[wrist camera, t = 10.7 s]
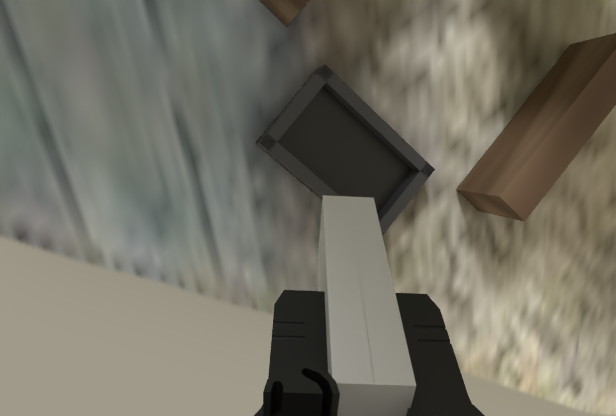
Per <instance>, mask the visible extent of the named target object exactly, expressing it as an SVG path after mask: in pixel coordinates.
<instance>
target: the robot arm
mask: <svg viewBox="0 0 616 416" xmlns="http://www.w3.org/2000/svg"><path fill="white" fill-rule="evenodd" d="M317 284H318V291H297V290H284V291H283V293H282V294H281V296H280V297H279V299H278V300H277V302H276V303H275V306H274V318H273V330H272V342H271V355H270V366H269V378H268V380H267V383H266V386H265V389H264V392H263V393H264V394H263V405H262V407H261V409H260V410H259V411H258V412H257V413H256V414H255V415H254V416H484V415H483V414H482V413H481V412H480V411H479V410H478V409H477V408H476V407H475V406H474V405H472V403H471V401H470V399H469V397H468V394H467V391H466V387H465V384H464V381H463V378H462V375H461V372H460V369H459V366H458V363H457V360H456V357H455V354H454V351H453V348H452V345H451V344H450V339H449V336H448V333H447V330H445V324H444V321H443V317H442V314H441V311H440V309H439V308H438V307H437V305H436V304H435V303H434V302H433V301H432V300H431V299H430V297H429V296H428V295H427V294H409V293H395V290H394V285H393V281H392V276H391V272H390V268H389V263H388V259H387V254H386V250H385V246H384V241H383V237H382V232H381V228H380V224H379V219H378V215H377V210H376V206H375V201H374V198H371V197H348V196H325V195H323V198H322V211H321V224H320V237H319V250H318V263H317Z"/></svg>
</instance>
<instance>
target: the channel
mask: <svg viewBox="0 0 616 416" xmlns="http://www.w3.org/2000/svg"><path fill="white" fill-rule="evenodd" d="M259 1H260V2H262V3H263V4H264V5H265V6H266V7H267V8H268V9H269V10H270V11H271V12H272V13H273V14H274V15H275V16H276V17H277V18H278V19H279V20H280V21H281V22H282V23H283V24H284V25H286V26H288V25H289V24H290V23H291V21H292V20H293V19H294V18H295V17H296V16H297V14H298V13H299V12H300V11H301V10H302V9H303V7H304V6H305V5H306V4H307V3H308V1H309V0H259ZM615 105H616V33H614V34H610V35H606V36H602V37H599V38H595V39H591V40H587V41H583V42H579V43H575V44H571V45H570V47H569V48H568V49H567V50H566V52H565V53H564V54H563V55H562V57H561V58H560V59H559V60H558V62H557V63H556V64H555V65H554V67H553V68H552V69H551V71H550V72H549V73H548V74H547V76H546V77H545V78H544V79H543V81H542V82H541V83H540V84H539V86H538V87H537V88H536V89H535V91H534V92H533V93H532V94H531V96H530V97H529V98H528V100H527V101H526V102H525V103H524V105H523V106H522V107H521V108H520V110H519V111H518V112H517V113H516V115H515V116H514V117H513V118H512V120H511V121H510V122H509V123H508V125H507V126H506V127H505V129H504V130H503V131H502V132H501V134H500V135H499V136H498V137H497V139H496V140H495V141H494V142H493V144H492V145H491V146H490V147H489V149H488V150H487V151H486V152H485V154H484V155H483V156H482V158H481V159H480V160H479V161H478V163H477V164H476V165H475V166H474V168H473V169H472V170H471V171H470V173H469V174H468V175H467V176H466V178H465V179H464V180H463V181H462V183H461V184H460V185H459V187H458V188H457V190H458V191H459V192H460V193H461V194H462V195H463V196H464V197H465V198H466V199H467V200H468V201H469V202H470V203H471V204H472V205H473V206H474V207H475V208H476V209H478V210H479V211H482V212H487V213H491V214H495V215H500V216H504V217H508V218H513V219H517V220H521V221H525V220H526V219H527V218H528V216H529V215H530V214H531V212H532V211H533V210H534V209H535V207H536V206H537V205H538V203H539V202H540V201H541V200H542V198H543V197H544V196H545V195H546V193H547V192H548V191H549V189H550V188H551V187H552V186H553V184H554V183H555V182H556V180H557V179H558V178H559V177H560V175H561V174H562V173H563V171H564V170H565V169H566V168H567V166H568V165H569V164H570V162H571V161H572V160H573V159H574V157H575V156H576V155H577V153H578V152H579V151H580V150H581V148H582V147H583V146H584V145H585V143H586V142H587V141H588V139H589V138H590V137H591V136H592V134H593V133H594V132H595V130H596V129H597V128H598V127H599V125H600V124H601V123H602V121H603V120H604V119H605V118H606V116H607V115H608V114H609V112H610V111H611V110H612V109H613V107H614V106H615Z"/></svg>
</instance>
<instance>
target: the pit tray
mask: <svg viewBox="0 0 616 416" xmlns="http://www.w3.org/2000/svg"><path fill="white" fill-rule="evenodd" d="M256 144H257V145H258V146H259V147H261V148H262V149H263V150H264V151H265V152H266V153H268V154H269V155H270V156H271V157H272V158H274V159H275V160H276V161H277V162H278V163H279V164H281V165H282V166H283V167H284V168H285V169H286V170H288V171H289V172H290V173H291V174H292V175H293V176H295V177H296V178H297V179H298V180H299V181H300V182H302V183H303V184H304V185H305V186H306V187H308V188H309V189H310V190H311V191H312V192H313V193H315V194H316V195H317V196H318V197H319V198H320V199H322V198H323V195H325V196H348V197H371V198H374V201H375V206H376V210H377V215H378V219H379V224H380V228H381V232H382V235H383V234H384V233H385V231H386V230H387V229H388V228H389V226H390V225H391V224H392V223H393V221H394V220H395V219H396V218H397V216H398V215H399V214H400V213H401V211H402V210H403V209H404V208H405V206H406V205H407V204H408V203H409V201H410V200H411V199H412V198H413V196H414V195H415V194H416V193H417V191H418V190H419V189H420V188H421V186H422V185H423V184H424V183H425V181H426V180H427V179H428V177H429V176H430V175H431V174H432V172H433V171H434V170H435V169H434V168H433V167H432V166H431V165H430V164H429V163H428V162H427V161H425V160H424V159H423V158H422V157H421V156H420V155H419V154H418V153H417V152H416V151H415V150H414V149H413V148H412V147H411V146H410V145H409V144H408V143H407V142H406V141H405V140H404V139H403V138H401V137H400V136H399V135H398V134H397V133H396V132H395V131H394V130H393V129H392V128H391V127H390V126H389V125H388V124H387V123H386V122H385V121H384V120H383V119H382V118H381V117H380V116H378V115H377V114H376V113H375V112H374V111H373V110H372V109H371V108H370V107H369V106H368V105H367V104H366V103H365V102H364V101H363V100H362V99H361V98H360V97H359V96H358V95H357V94H356V93H354V92H353V91H352V90H351V89H350V88H349V87H348V86H347V85H346V84H345V83H344V82H343V81H342V80H341V79H340V78H339V77H338V76H337V75H336V74H335V73H334V72H333V71H331V70H330V69H329V68H328V67H327V66H326V65H323V66H321V67H320V68H318V69H317V70H316V71H315V72H314V73H313V74H312V76H311V77H310V78H309V79H308V80H307V82H306V83H305V84H304V85H303V87H302V88H301V89H300V90H299V91H298V93H297V94H296V95H295V96H294V97H293V99H292V100H291V101H290V102H289V103H288V105H287V106H286V107H285V108H284V109H283V111H282V112H281V113H280V114H279V116H278V117H277V118H276V119H275V120H274V122H273V123H272V124H271V125H270V126H269V128H268V129H267V130H266V131H265V132H264V134H263V135H262V136H261V137H260V138H259V140H258V141H257V142H256Z"/></svg>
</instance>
